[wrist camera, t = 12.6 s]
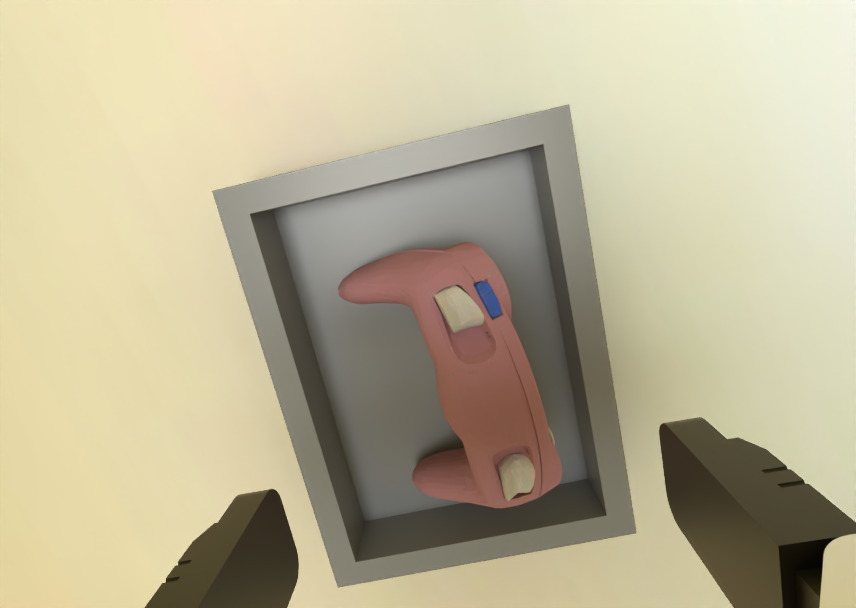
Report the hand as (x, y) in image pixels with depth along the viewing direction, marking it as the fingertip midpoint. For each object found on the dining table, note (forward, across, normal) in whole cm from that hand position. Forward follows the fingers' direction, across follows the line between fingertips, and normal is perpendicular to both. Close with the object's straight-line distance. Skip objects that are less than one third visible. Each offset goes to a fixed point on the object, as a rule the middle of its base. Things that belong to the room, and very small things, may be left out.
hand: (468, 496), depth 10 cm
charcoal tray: (+11, +1, 0) cm, 11 cm away
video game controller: (+10, +1, 0) cm, 11 cm away
